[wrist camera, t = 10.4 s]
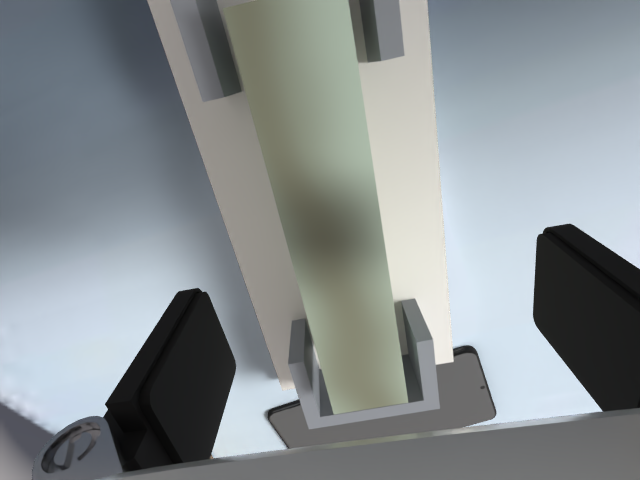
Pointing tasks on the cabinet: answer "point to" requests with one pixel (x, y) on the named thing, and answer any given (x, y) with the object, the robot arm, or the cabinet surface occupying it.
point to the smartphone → (455, 412)
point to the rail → (324, 188)
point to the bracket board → (390, 176)
